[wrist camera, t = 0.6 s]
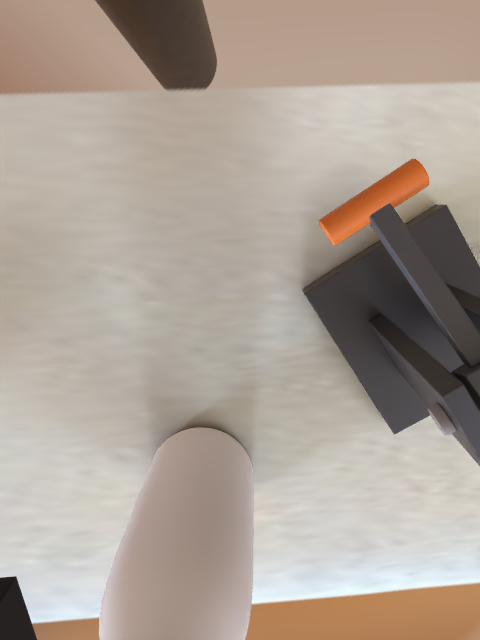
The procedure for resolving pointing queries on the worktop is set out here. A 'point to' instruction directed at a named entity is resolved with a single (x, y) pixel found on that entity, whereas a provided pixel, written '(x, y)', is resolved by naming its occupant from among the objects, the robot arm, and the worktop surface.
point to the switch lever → (411, 260)
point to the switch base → (405, 329)
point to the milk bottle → (186, 546)
